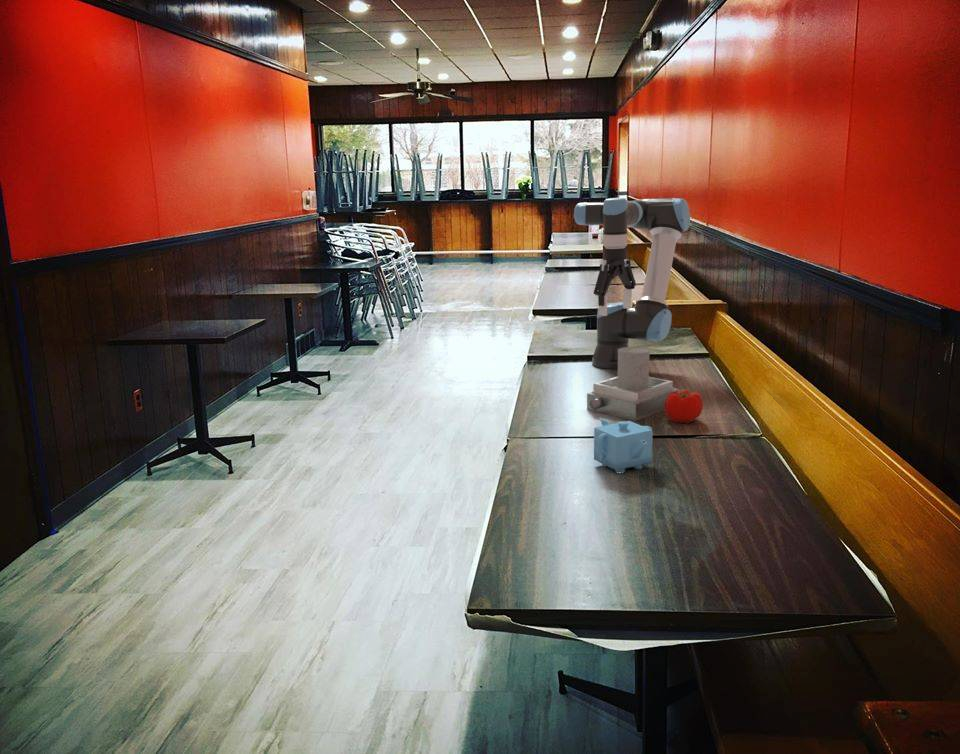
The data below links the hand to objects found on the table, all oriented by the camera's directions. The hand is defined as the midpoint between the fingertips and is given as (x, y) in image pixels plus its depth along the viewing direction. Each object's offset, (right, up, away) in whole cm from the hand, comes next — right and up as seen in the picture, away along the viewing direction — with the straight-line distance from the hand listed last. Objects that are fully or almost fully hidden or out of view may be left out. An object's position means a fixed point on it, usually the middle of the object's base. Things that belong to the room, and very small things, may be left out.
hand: (615, 311), depth 263 cm
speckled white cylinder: (+2, -25, -19) cm, 32 cm away
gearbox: (+1, -31, -19) cm, 36 cm away
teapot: (-10, -44, -66) cm, 80 cm away
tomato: (+14, -34, -32) cm, 49 cm away
